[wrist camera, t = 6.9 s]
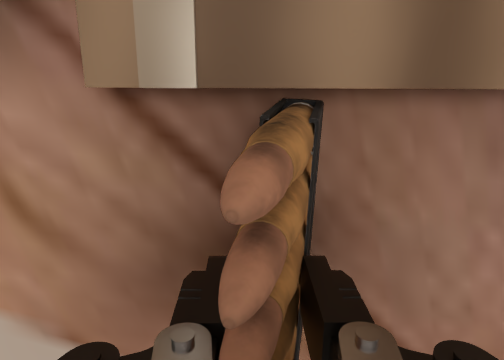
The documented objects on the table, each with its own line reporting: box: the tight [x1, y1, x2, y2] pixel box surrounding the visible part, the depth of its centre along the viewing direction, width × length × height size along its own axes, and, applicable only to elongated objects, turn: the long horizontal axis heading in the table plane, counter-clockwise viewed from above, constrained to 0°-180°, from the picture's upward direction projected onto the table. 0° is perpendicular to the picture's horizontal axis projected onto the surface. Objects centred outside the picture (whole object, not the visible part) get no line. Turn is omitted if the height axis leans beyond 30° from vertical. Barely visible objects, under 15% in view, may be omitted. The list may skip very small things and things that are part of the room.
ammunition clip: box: [218, 98, 324, 360], centre depth 12 cm, size 11×2×12 cm, turn 178°
